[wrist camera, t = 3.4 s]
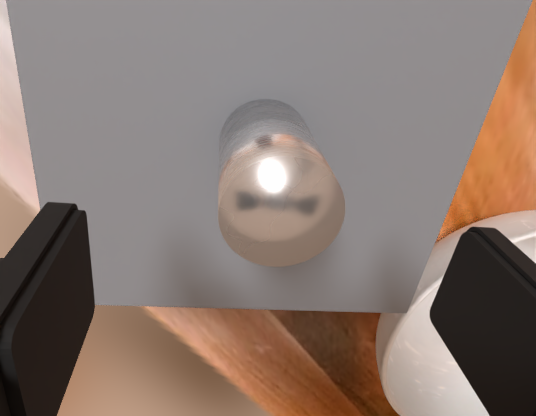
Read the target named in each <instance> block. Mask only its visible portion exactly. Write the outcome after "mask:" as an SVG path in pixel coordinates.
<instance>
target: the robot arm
mask: <svg viewBox="0 0 536 416" xmlns="http://www.w3.org/2000/svg"><path fill="white" fill-rule="evenodd" d="M94 308H95V298H94V287H93V277H92V266H91V255H90V245H89V234H88V223H87V214H86V211H85V210H78V207H77V205H76V204H75V203H59V202H47V203H46V204H45V205H44V206H43V208H42V209H41V210H40V212H39V213H38V214H37V216H36V217H35V218H34V220H33V221H32V222H31V224H30V225H29V226H28V228H27V229H26V230H25V231H24V233H23V234H22V235H21V237H20V238H19V239H18V241H17V242H16V243H15V245H14V246H13V247H12V248H11V250H10V251H9V252H8V254H7V255H6V256H5V258H0V416H57V413H58V410H59V408H60V405H61V402H62V400H63V397H64V394H65V391H66V389H67V386H68V383H69V380H70V378H71V375H72V372H73V369H74V367H75V364H76V361H77V359H78V356H79V353H80V350H81V348H82V345H83V342H84V339H85V337H86V334H87V331H88V328H89V326H90V323H91V320H92V318H93V314H94ZM430 320H431V323H432V324H433V326H434V328H435V329H436V331H437V332H438V334H439V336H440V337H441V339H442V340H443V342H444V344H445V345H446V347H447V348H448V350H449V352H450V353H451V355H452V356H453V358H454V359H455V361H456V363H457V364H458V366H459V367H460V369H461V371H462V372H463V374H464V375H465V377H466V379H467V380H468V382H469V383H470V385H471V387H472V388H473V390H474V391H475V393H476V395H477V396H478V398H479V399H480V401H481V403H482V404H483V406H484V407H485V409H486V411H487V412H488V414H489V415H490V416H536V263H535V262H534V261H532V260H531V259H530V258H529V257H528V256H527V255H526V254H525V253H523V252H522V251H521V250H520V249H519V248H518V247H517V246H516V245H514V244H513V243H512V242H511V241H510V240H509V239H508V238H507V237H505V236H504V235H503V234H502V233H501V232H500V231H499V230H497V229H496V228H490V227H470V228H469V229H468V230H467V231H466V232H464V233H462V234H461V236H460V238H459V241H458V243H457V246H456V248H455V250H454V253H453V255H452V258H451V260H450V262H449V265H448V267H447V270H446V272H445V274H444V277H443V279H442V282H441V284H440V286H439V289H438V291H437V294H436V296H435V298H434V301H433V303H432V306H431V308H430Z"/></svg>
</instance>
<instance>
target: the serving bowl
mask: <svg viewBox="0 0 536 416" xmlns="http://www.w3.org/2000/svg"><path fill="white" fill-rule="evenodd" d="M470 227H490V228H496V229H497V230H499V231H500V232H501V233H502V234H503V235H504V236H505V237H507V238H508V239H509V240H510V241H511V242H512V243H513V244H514V245H516V246H517V247H518V248H519V249H520V250H521V251H522V252H523V253H525V254H526V255H527V256H528V257H529V258H530V259H531V260H532V261H534V262H535V263H536V210H527V211H518V212H512V213H506V214H501V215H497V216H493V217H490V218H486V219H483V220H480V221H477V222H475V223H472V224H470V225H467V226H465V227H463V228H461V229H459V230H457V231H454V232H453V233H451V234H449V235H447V236H446V237H444V238H442V239H441V240H439V241H438V242H436V243H435V244H434V247H433V249H432V252H431V254H430V257H429V259H428V262H427V264H426V267H425V269H424V272H423V274H422V277H421V279H420V282H419V284H418V287H417V289H416V292H415V294H414V297H413V299H412V302H411V304H410V307H409V309H408V312H407V313H381V315H380V318H379V322H378V326H377V332H376V359H377V366H378V371H379V376H380V380H381V384H382V388H383V391H384V394H385V396H386V398H387V400H388V402H389V403H390V405H391V406H392V408H393V409H394V410H395V411H396V412H397V413H398V414H399V415H400V416H490V415H489V414H488V412H487V411H486V409H485V407H484V406H483V404H482V403H481V401H480V399H479V398H478V396H477V395H476V393H475V391H474V390H473V388H472V387H471V385H470V383H469V382H468V380H467V379H466V377H465V375H464V374H463V372H462V371H461V369H460V367H459V366H458V364H457V363H456V361H455V359H454V358H453V356H452V355H451V353H450V352H449V350H448V348H447V347H446V345H445V344H444V342H443V340H442V339H441V337H440V336H439V334H438V332H437V331H436V329H435V328H434V326H433V324H432V323H431V320H430V308H431V306H432V303H433V301H434V298H435V296H436V294H437V291H438V289H439V286H440V284H441V282H442V279H443V277H444V274H445V272H446V270H447V267H448V265H449V262H450V260H451V258H452V255H453V253H454V250H455V248H456V246H457V243H458V241H459V238H460V236H461V234H462V233H464V232H466V231H467V230H468V229H469V228H470Z"/></svg>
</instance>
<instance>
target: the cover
mask: <svg viewBox="0 0 536 416" xmlns="http://www.w3.org/2000/svg"><path fill="white" fill-rule="evenodd" d="M6 3H7V9H8V15H9V21H10V27H11V33H12V39H13V45H14V51H15V58H16V64H17V70H18V76H19V82H20V88H21V94H22V100H23V106H24V112H25V118H26V125H27V131H28V137H29V143H30V149H31V155H32V161H33V167H34V173H35V179H36V185H37V191H38V198H39V204H40V210H41V209H42V208H43V206H44V205H45V204H46V203H47V202H59V203H75V204H76V205H77V207H78V210H85V211H86V214H87V223H88V234H89V245H90V255H91V266H92V277H93V287H94V298H95V305H121V306H122V305H123V306H157V307H193V308H229V309H265V310H301V311H337V312H373V313H407V312H408V309H409V307H410V304H411V302H412V299H413V297H414V294H415V292H416V289H417V287H418V284H419V282H420V279H421V277H422V274H423V272H424V269H425V267H426V264H427V262H428V259H429V257H430V254H431V252H432V249H433V247H434V244H435V242H436V239H437V237H438V234H439V232H440V229H441V227H442V224H443V222H444V219H445V217H446V214H447V212H448V209H449V207H450V204H451V202H452V199H453V197H454V194H455V192H456V189H457V187H458V185H459V182H460V180H461V177H462V175H463V172H464V170H465V167H466V165H467V162H468V160H469V157H470V155H471V152H472V150H473V147H474V145H475V142H476V140H477V137H478V135H479V132H480V130H481V127H482V125H483V122H484V120H485V117H486V115H487V112H488V110H489V107H490V105H491V102H492V100H493V97H494V95H495V92H496V90H497V87H498V85H499V82H500V80H501V77H502V75H503V72H504V70H505V67H506V65H507V62H508V60H509V57H510V55H511V53H512V50H513V48H514V45H515V43H516V40H517V38H518V35H519V33H520V30H521V28H522V25H523V23H524V20H525V18H526V15H527V13H528V10H529V8H530V5H531V3H532V0H6Z"/></svg>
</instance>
